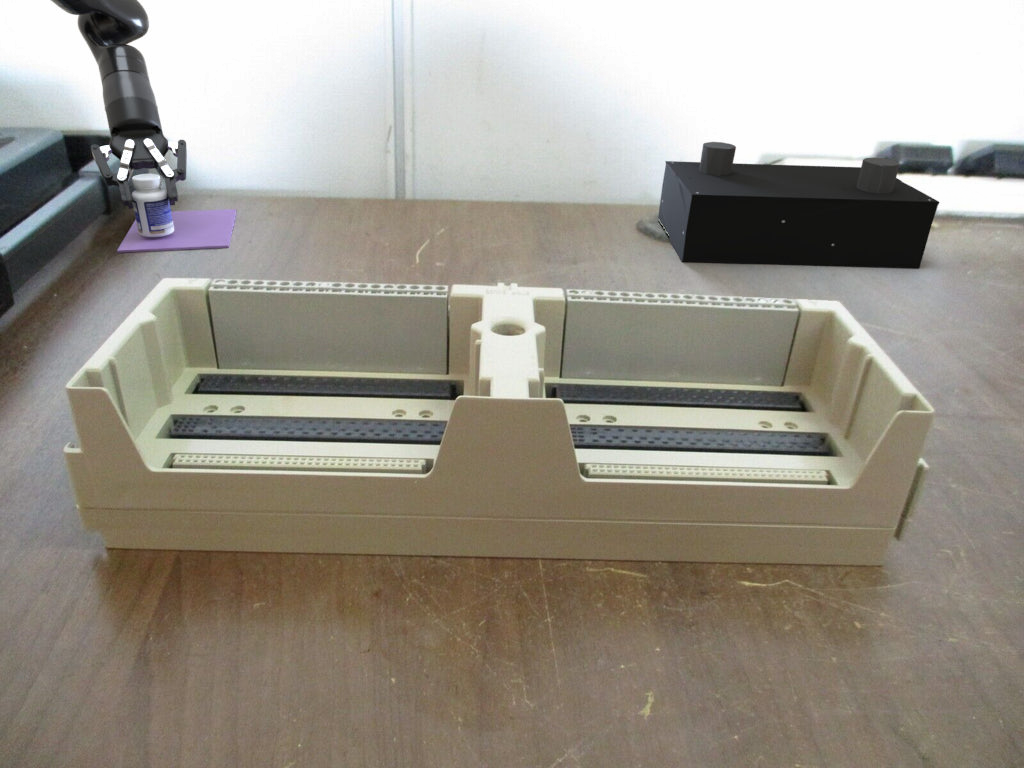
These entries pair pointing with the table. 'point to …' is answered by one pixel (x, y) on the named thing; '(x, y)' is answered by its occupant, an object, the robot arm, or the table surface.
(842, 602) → the table surface
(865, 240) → the control box
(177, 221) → the cloth
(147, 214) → the pill bottle
